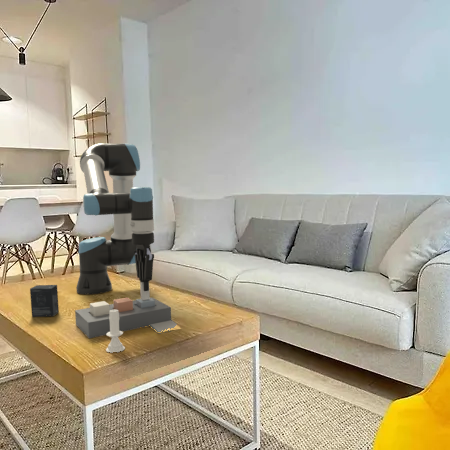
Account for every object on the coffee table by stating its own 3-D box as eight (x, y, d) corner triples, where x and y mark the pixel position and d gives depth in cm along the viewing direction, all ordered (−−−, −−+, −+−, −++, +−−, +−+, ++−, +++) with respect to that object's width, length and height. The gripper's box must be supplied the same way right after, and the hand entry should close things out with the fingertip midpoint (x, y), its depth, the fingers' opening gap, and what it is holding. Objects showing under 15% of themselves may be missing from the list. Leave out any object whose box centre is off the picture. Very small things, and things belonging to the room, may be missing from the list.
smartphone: (158, 332, 138) (143, 319, 151) (158, 335, 138) (143, 321, 151) (182, 328, 142) (166, 315, 155) (182, 330, 142) (166, 317, 155)
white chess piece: (102, 352, 124) (100, 311, 122) (110, 345, 129) (108, 305, 128) (120, 353, 123) (118, 311, 121) (127, 346, 128) (126, 306, 127)
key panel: (75, 324, 148) (75, 310, 148) (152, 310, 163) (152, 297, 163) (88, 338, 135) (88, 322, 135) (171, 321, 150) (170, 307, 149)
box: (59, 312, 163) (57, 284, 162) (53, 316, 158) (51, 288, 157) (38, 312, 163) (36, 284, 162) (31, 317, 158) (29, 288, 157)
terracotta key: (113, 311, 150) (113, 299, 149) (127, 308, 152) (127, 297, 152) (118, 314, 145) (118, 302, 145) (133, 312, 148) (132, 300, 148)
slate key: (136, 310, 154) (135, 299, 154) (149, 308, 157) (149, 297, 156) (141, 314, 150) (141, 302, 149) (155, 311, 152) (154, 300, 152)
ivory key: (90, 315, 145) (89, 303, 145) (105, 312, 148) (104, 301, 148) (94, 319, 141) (94, 307, 141) (109, 316, 144) (109, 304, 143)
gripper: (125, 231, 154) (128, 297, 156) (139, 234, 143) (142, 305, 145) (145, 229, 158) (148, 294, 160) (160, 233, 147) (162, 301, 149)
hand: (145, 299), depth 153 cm, fingers closed
